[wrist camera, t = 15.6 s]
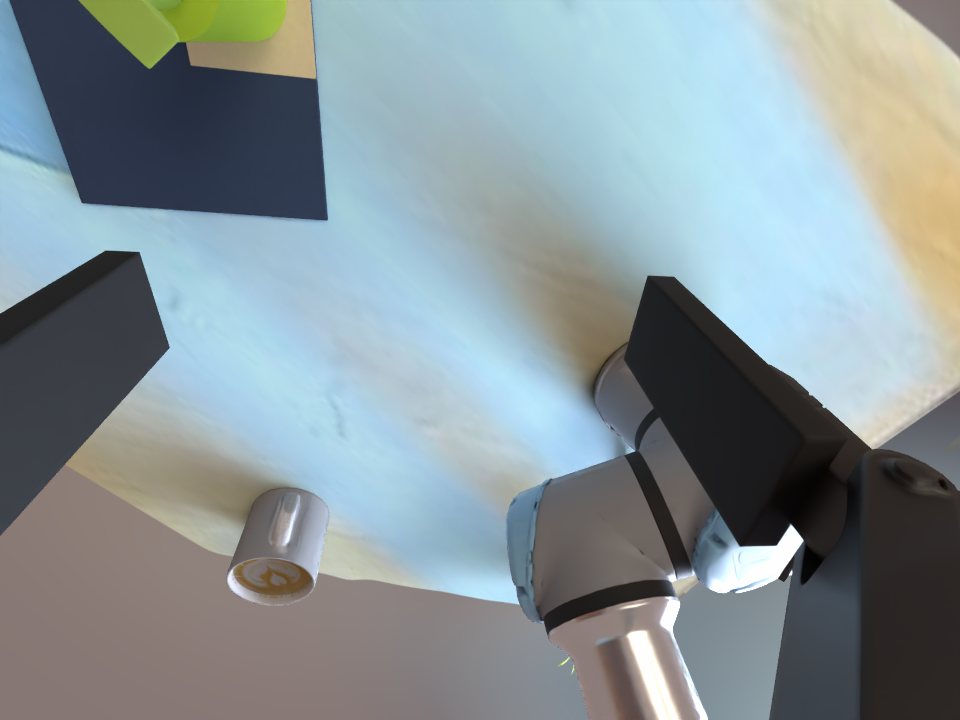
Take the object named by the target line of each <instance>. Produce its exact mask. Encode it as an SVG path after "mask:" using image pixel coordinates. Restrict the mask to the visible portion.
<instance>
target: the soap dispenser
mask: <svg viewBox="0 0 960 720" xmlns="http://www.w3.org/2000/svg"><path fill="white" fill-rule="evenodd" d="M79 1H80V3H81V4H82V5H83V6H84V7H85V8H86V9H87V10H88V11H89V12H90V13H91V14H92V15H93V16H94V17H95V18H96V19H97V20H98V21H99V22H100V23H101V24H102V25H103V26H104V27H105V28H106V29H107V30H108V31H109V32H110V33H111V34H112V35H113V36H114V37H115V38H116V39H117V40H118V41H119V42H120V43H121V44H122V45H123V46H124V47H125V48H127V49H128V50H129V51H130V52H131V53H132V54H133V55H134V56H135V57H136V58H137V59H138V60H139V61H140V62H142V63H143V64H144V65H145V66H146V67H147V68H149V69H150V68H152V67H153V66H154V65H155V64H156V63H157V62H158V61H159V60H160V59H161V58H162V57H163V56H164V55H165V54H166V53H167V52H168V51H169V50H170V49H171V48H172V47H173V46H174V45H175V44H176V43H177V42H255V41H262V40H265V39H267V38H269V37H271V36H272V35H273V34H275V33H276V32H277V30H278V29H279V28H280V26H281V24H282V22H283V20H284V17H285V13H286V4H287V1H286V0H79Z"/></svg>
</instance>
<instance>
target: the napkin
mask: <svg viewBox="0 0 960 720" xmlns="http://www.w3.org/2000/svg"><path fill="white" fill-rule="evenodd" d="M286 1H287V4H286V13H285V17H284V20H283V22H282V24H281V26H280V28H279V29H278V30H277V32H276V33H275V34H273V35H272V36H271V37H269V38H267V39H265V40H262V41H255V42H177V43H176V44H175V45H174V46H173V47H172V48H171V49H170V50H169V51H168V52H167V53H166V54H165V55H164V56H163V57H162V58H161V59H160V60H159V61H158V62H157V63H156V64H155V65H154V66H153V67H152V68H150V69H149V68H147V67H146V66H145V65H144V64H143V63H142V62H140V61H139V60H138V59H137V58H136V57H135V56H134V55H133V54H132V53H131V52H130V51H129V50H128V49H127V48H125V47H124V46H123V45H122V44H121V43H120V42H119V41H118V40H117V39H116V38H115V37H114V36H113V35H112V34H111V33H110V32H109V31H108V30H107V29H106V28H105V27H104V26H103V25H102V24H101V23H100V22H99V21H98V20H97V19H96V18H95V17H94V16H93V15H92V14H91V13H90V12H89V11H88V10H87V9H86V8H85V7H84V6H83V5H82V4H81V3H80V1H79V0H10V3H11V6H12V8H13V11H14V14H15V17H16V20H17V22H18V25H19V28H20V31H21V34H22V36H23V39H24V42H25V45H26V48H27V50H28V53H29V56H30V59H31V62H32V64H33V67H34V70H35V73H36V76H37V78H38V81H39V84H40V87H41V90H42V92H43V95H44V98H45V101H46V104H47V106H48V109H49V112H50V115H51V118H52V120H53V123H54V126H55V129H56V132H57V134H58V137H59V140H60V143H61V146H62V148H63V151H64V154H65V157H66V160H67V162H68V165H69V168H70V171H71V174H72V176H73V179H74V182H75V185H76V188H77V190H78V193H79V196H80V199H81V202H82V203H88V204H103V205H117V206H131V207H145V208H159V209H173V210H187V211H202V212H216V213H230V214H244V215H258V216H272V217H286V218H300V219H315V220H328V216H327V202H326V189H325V176H324V163H323V150H322V137H321V123H320V110H319V97H318V84H317V71H316V57H315V44H314V31H313V18H312V5H311V0H286Z"/></svg>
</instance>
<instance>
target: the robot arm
mask: <svg viewBox="0 0 960 720" xmlns="http://www.w3.org/2000/svg"><path fill="white" fill-rule="evenodd" d="M169 348H170V347H169V344H168V341H167V338H166V334H165V331H164V328H163V325H162V322H161V319H160V315H159V312H158V309H157V306H156V303H155V300H154V296H153V293H152V290H151V287H150V284H149V281H148V278H147V274H146V271H145V268H144V265H143V262H142V259H141V255H140V252H127V251H104V252H103V253H101V254H99V255H98V256H96V257H94V258H92V259H91V260H89V261H87V262H86V263H84V264H82V265H81V266H79V267H77V268H76V269H74V270H72V271H71V272H69V273H67V274H66V275H64V276H62V277H61V278H59V279H57V280H56V281H54V282H52V283H51V284H49V285H47V286H46V287H44V288H42V289H41V290H39V291H37V292H36V293H34V294H32V295H31V296H29V297H27V298H26V299H24V300H22V301H21V302H19V303H17V304H16V305H14V306H12V307H11V308H9V309H7V310H6V311H4V312H2V313H1V314H0V535H2V533H3V532H4V531H5V530H6V529H7V528H8V527H9V526H10V525H11V523H12V522H13V521H14V520H15V519H16V518H17V517H18V516H19V515H20V513H21V512H22V511H23V510H24V509H25V508H26V507H27V506H28V505H29V503H30V502H31V501H32V500H33V499H34V498H35V497H36V496H37V495H38V493H39V492H40V491H41V490H42V489H43V488H44V487H45V486H46V485H47V483H48V482H49V481H50V480H51V479H52V478H53V477H54V476H55V475H56V473H57V472H58V471H59V470H60V469H61V468H62V467H63V466H64V465H65V463H66V462H67V461H68V460H69V459H70V458H71V457H72V456H73V455H74V453H75V452H76V451H77V450H78V449H79V448H80V447H81V446H82V445H83V444H84V442H85V441H86V440H87V439H88V438H89V437H90V436H91V435H92V434H93V432H94V431H95V430H96V429H97V428H98V427H99V426H100V425H101V424H102V422H103V421H104V420H105V419H106V418H107V417H108V416H109V415H110V414H111V412H112V411H113V410H114V409H115V408H116V407H117V406H118V405H119V404H120V402H121V401H122V400H123V399H124V398H125V397H126V396H127V395H128V394H129V392H130V391H131V390H132V389H133V388H134V387H135V386H136V385H137V384H138V382H139V381H140V380H141V379H142V378H143V377H144V376H145V375H146V374H147V372H148V371H149V370H150V369H151V368H152V367H153V366H154V365H155V364H156V362H157V361H158V360H159V359H160V358H161V357H162V356H163V355H164V354H165V352H166V351H167V350H168V349H169ZM594 398H595V403H596V406H597V409H598V411H599V413H600V415H601V417H602V419H603V421H604V422H605V423H606V424H607V426H608V427H609V428H610V429H611V430H612V431H613V432H614V433H616V434H617V435H618V436H620V437H622V438H623V439H624V440H625V441H626V443H627V444H628V445H629V446H630V447H632V448H633V449H634V450H635V452H632V453H630V454H627V455H623V456H620V457H618V458H615V459H612V460H609V461H606V462H603V463H600V464H597V465H594V466H591V467H588V468H585V469H582V470H579V471H576V472H573V473H570V474H567V475H564V476H561V477H558V478H555V479H548V480H546V481H545V482H543V484H541V485H538V486H536V487H533V488H531V489H528V490H526V491H523V492H521V493H519V494H518V495H517V496H516V497H515V498H514V499H513V501H512V503H511V504H510V507H509V511H508V514H507V522H506V540H507V551H508V559H509V565H510V571H511V576H512V580H513V583H514V585H515V586H516V590H517V597H518V600H519V603H520V606H521V608H522V610H523V612H524V614H525V615H526V617H527V618H528V619H530V620H531V621H532V622H537V623H540V624H542V623H544V624H545V627H546V631H547V635H548V639H549V641H550V642H551V643H553V644H554V645H555V646H557V647H558V648H560V649H561V650H563V651H564V652H565V653H567V654H568V655H569V656H570V658H571V659H572V660H573V663H574V667H575V670H576V674H577V678H578V681H579V685H580V688H581V692H582V695H583V699H584V703H585V706H586V710H587V714H588V717H589V720H708V719H707V717H706V714H705V712H704V709H703V707H702V704H701V702H700V699H699V697H698V695H697V692H696V689H695V687H694V685H693V682H692V680H691V677H690V675H689V672H688V670H687V667H686V665H685V662H684V660H683V658H682V655H681V653H680V650H679V648H678V645H677V643H676V641H675V638H674V636H673V631H672V626H673V624H674V621H675V618H676V615H677V612H678V610H679V607H680V602H679V599H678V597H677V595H676V593H675V590H674V588H673V586H672V583H671V582H672V581H675V580H679V579H682V578H685V577H689V576H692V575H695V574H696V576H697V578H698V580H700V581H701V582H702V583H704V585H705V586H707V587H708V588H709V589H711V590H713V591H716V592H721V593H726V592H727V591H730V592H733V593H738V592H744V591H748V590H751V589H755V588H757V587H760V586H762V585H764V584H767V583H769V582H771V581H773V580H775V579H777V578H778V579H780V580H781V581H783V582H784V581H785V580H786V579H787V577H788V576H789V575H791V574H792V576H791V583H790V589H789V596H788V602H787V608H786V615H785V621H784V628H783V634H782V640H781V647H780V653H779V660H778V666H777V673H776V680H775V685H774V692H773V698H772V705H771V711H770V718H769V720H960V491H958V490H957V489H956V487H955V486H954V485H953V484H952V483H951V482H950V481H949V480H948V479H947V478H946V477H945V476H944V475H943V474H941V473H940V472H938V471H936V470H935V469H933V468H932V467H930V466H929V465H927V464H926V463H923V462H921V461H919V460H916V459H915V458H913V457H910V456H908V455H905V454H902V453H898V452H895V451H891V450H883V449H873V450H872V449H871V448H870V447H869V446H868V445H867V444H865V443H864V442H863V441H862V440H861V439H860V438H859V437H858V436H857V435H856V434H854V433H853V432H852V431H851V430H850V429H849V428H848V427H847V426H846V425H844V424H843V423H842V422H841V421H840V420H839V419H838V418H837V417H836V416H834V415H833V414H832V413H831V412H830V411H829V410H828V409H827V408H823V407H822V406H823V405H822V404H821V403H820V402H819V401H818V400H817V399H816V398H815V397H813V396H811V395H809V392H808V391H807V390H806V389H805V388H803V387H802V386H801V385H800V384H799V383H798V382H797V381H796V380H795V379H794V378H792V377H791V376H789V375H787V374H785V373H784V372H782V371H780V370H778V369H777V368H775V367H773V366H772V365H768V364H767V363H766V362H765V361H764V360H763V359H762V358H761V357H760V356H759V355H757V354H756V353H755V352H754V351H753V350H752V349H751V348H750V347H749V346H748V345H747V344H746V343H745V342H743V341H742V340H741V339H740V338H739V337H738V336H737V335H736V334H735V333H734V332H733V331H732V330H731V329H729V328H728V327H727V326H726V325H725V324H724V323H723V322H722V321H721V320H720V319H719V318H718V317H717V316H716V315H714V314H713V313H712V312H711V311H710V310H709V309H708V308H707V307H706V306H705V305H704V304H703V303H702V302H700V301H699V300H698V299H697V298H696V297H695V296H694V295H693V294H692V293H691V292H690V291H689V290H688V289H686V288H685V287H684V286H683V285H682V284H681V283H680V282H679V281H678V280H677V279H676V278H675V277H667V276H647V280H646V283H645V287H644V290H643V294H642V297H641V301H640V304H639V308H638V311H637V314H636V318H635V321H634V325H633V328H632V332H631V335H630V339H629V342H628V343H627V344H625V345H624V346H622V347H621V348H620V349H619V350H617V351H616V352H615V353H614V354H613V355H612V356H611V357H610V358H609V360H608V361H607V362H606V363H605V365H604V366H603V368H602V369H601V371H600V373H599V375H598V378H597V380H596V384H595V390H594Z"/></svg>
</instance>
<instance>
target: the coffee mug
mask: <svg viewBox="0 0 960 720" xmlns="http://www.w3.org/2000/svg"><path fill="white" fill-rule="evenodd" d="M328 521H329V509H328V507H327V505H326V504H325V502H324V501H323V500H322V499H320V498H319V497H318V496H316V495H314V494H312V493H310V492H307V491H304V490H300V489H295V488H279V489H274V490H271V491H268V492H266V493H263V494H262V495H260V496H259V497H258V498H257V499H256V500H255V502H254V504H253V506H252V509H251V512H250V514H249V517H248V520H247V522H246V525H245V527H244V530H243V533H242V535H241V538H240V541H239V543H238V546H237V549H236V551H235V554H234V557H233V560H232V562H231V565H230V568H229V570H228V573H227V577H226V580H227V585H228V587H229V588H230V590H231V591H232V592H233V593H234V594H236V595H237V596H239V597H240V598H242V599H245V600H247V601H250V602H253V603H257V604H263V605H286V604H291V603H295V602H297V601H300V600H302V599H304V598H305V597H307V596H308V595H309V594H310V593H311V592H312V591H313V589H314V587H315V583H316V578H317V574H318V569H319V564H320V559H321V554H322V550H323V545H324V540H325V535H326V530H327V525H328Z"/></svg>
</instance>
